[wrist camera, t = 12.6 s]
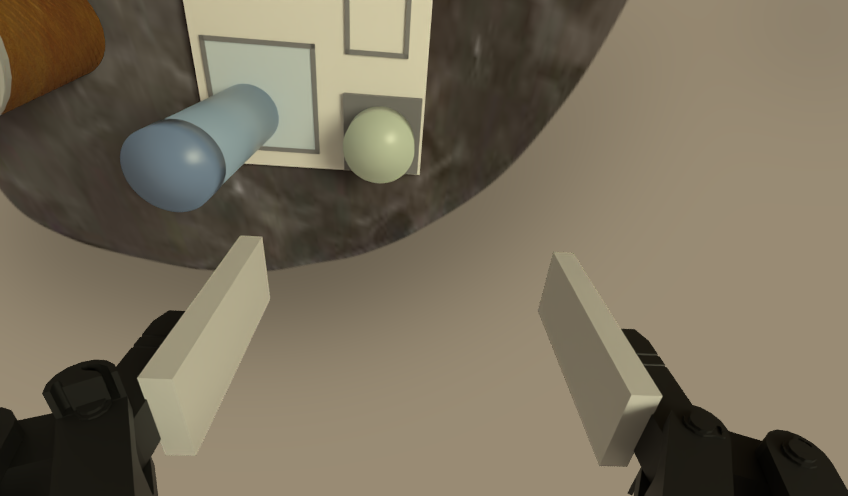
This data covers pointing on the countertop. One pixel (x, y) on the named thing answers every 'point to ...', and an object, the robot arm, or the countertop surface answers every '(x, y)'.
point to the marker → (198, 147)
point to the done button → (379, 145)
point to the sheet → (315, 67)
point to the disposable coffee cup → (45, 47)
